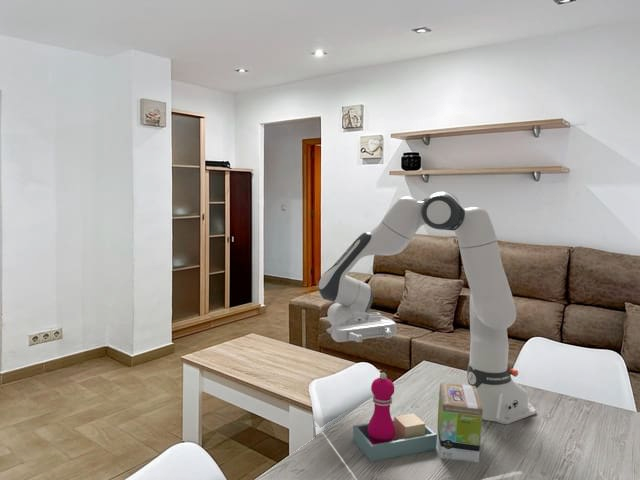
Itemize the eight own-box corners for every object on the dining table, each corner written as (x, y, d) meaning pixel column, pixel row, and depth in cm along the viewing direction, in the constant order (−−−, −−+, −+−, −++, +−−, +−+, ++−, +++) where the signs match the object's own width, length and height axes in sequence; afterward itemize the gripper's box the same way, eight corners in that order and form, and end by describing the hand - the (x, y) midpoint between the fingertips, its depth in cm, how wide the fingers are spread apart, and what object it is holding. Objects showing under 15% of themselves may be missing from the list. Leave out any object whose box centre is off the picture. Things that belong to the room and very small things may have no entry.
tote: (414, 430, 134) (414, 415, 134) (436, 450, 124) (437, 434, 123) (352, 441, 128) (353, 425, 127) (370, 464, 117) (371, 446, 117)
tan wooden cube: (412, 434, 131) (413, 413, 130) (424, 445, 125) (425, 423, 125) (393, 437, 129) (394, 416, 128) (404, 448, 123) (405, 427, 123)
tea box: (480, 465, 118) (483, 408, 116) (438, 460, 120) (441, 404, 118) (473, 435, 132) (476, 384, 131) (436, 430, 134) (438, 380, 133)
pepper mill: (366, 438, 128) (368, 367, 126) (393, 439, 128) (395, 368, 126) (367, 453, 121) (370, 377, 119) (396, 454, 121) (399, 378, 119)
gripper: (324, 318, 145) (341, 331, 132) (383, 311, 152) (405, 322, 139) (324, 338, 146) (342, 352, 133) (383, 331, 153) (405, 343, 140)
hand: (375, 337), depth 136 cm, fingers open, 8 cm apart
